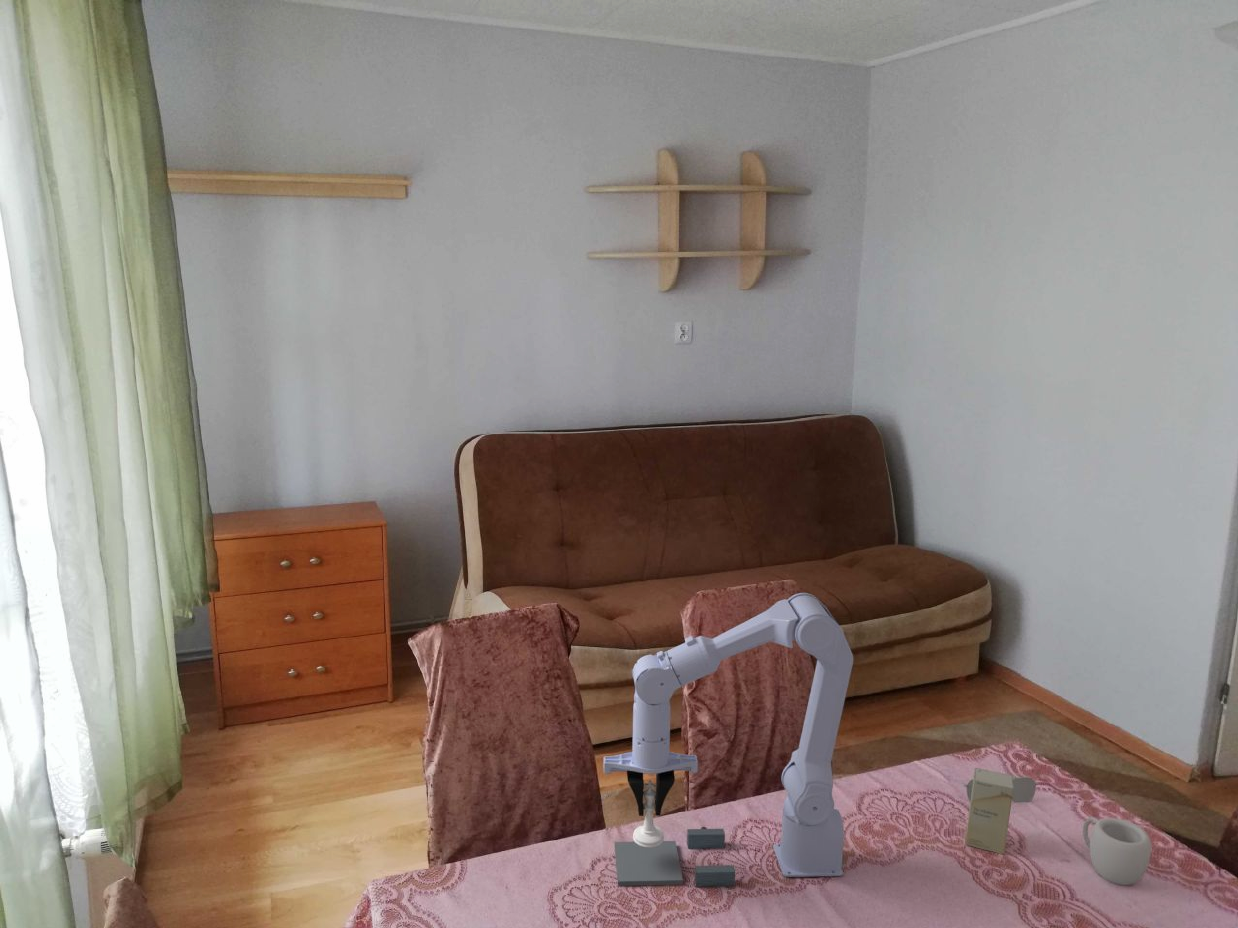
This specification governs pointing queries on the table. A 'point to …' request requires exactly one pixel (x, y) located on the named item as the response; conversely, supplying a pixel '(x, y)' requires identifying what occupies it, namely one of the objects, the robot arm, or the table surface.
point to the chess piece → (648, 822)
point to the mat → (647, 864)
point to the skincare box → (989, 810)
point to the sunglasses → (1021, 791)
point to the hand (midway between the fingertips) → (649, 811)
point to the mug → (1118, 849)
